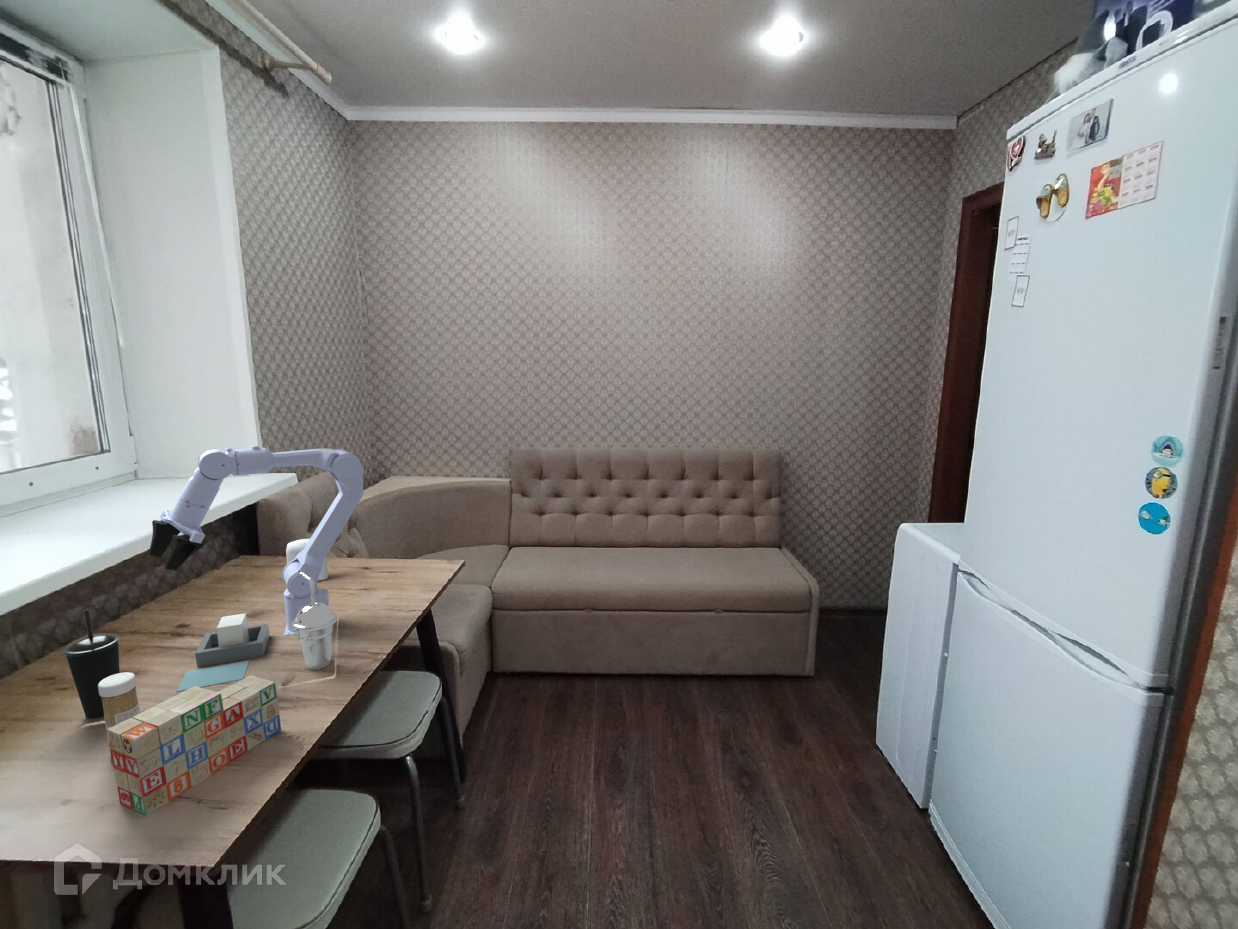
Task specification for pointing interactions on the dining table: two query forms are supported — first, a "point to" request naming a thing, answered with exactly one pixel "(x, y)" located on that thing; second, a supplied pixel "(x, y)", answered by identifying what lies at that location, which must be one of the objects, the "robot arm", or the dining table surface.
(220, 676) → the mat
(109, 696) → the sprinkles bottle
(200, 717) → the stack of blocks
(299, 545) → the photo printer
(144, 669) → the dining table surface
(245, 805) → the dining table surface
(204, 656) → the case
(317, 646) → the cup with straw
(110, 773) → the dining table surface
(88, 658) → the drinking cup
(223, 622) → the block
